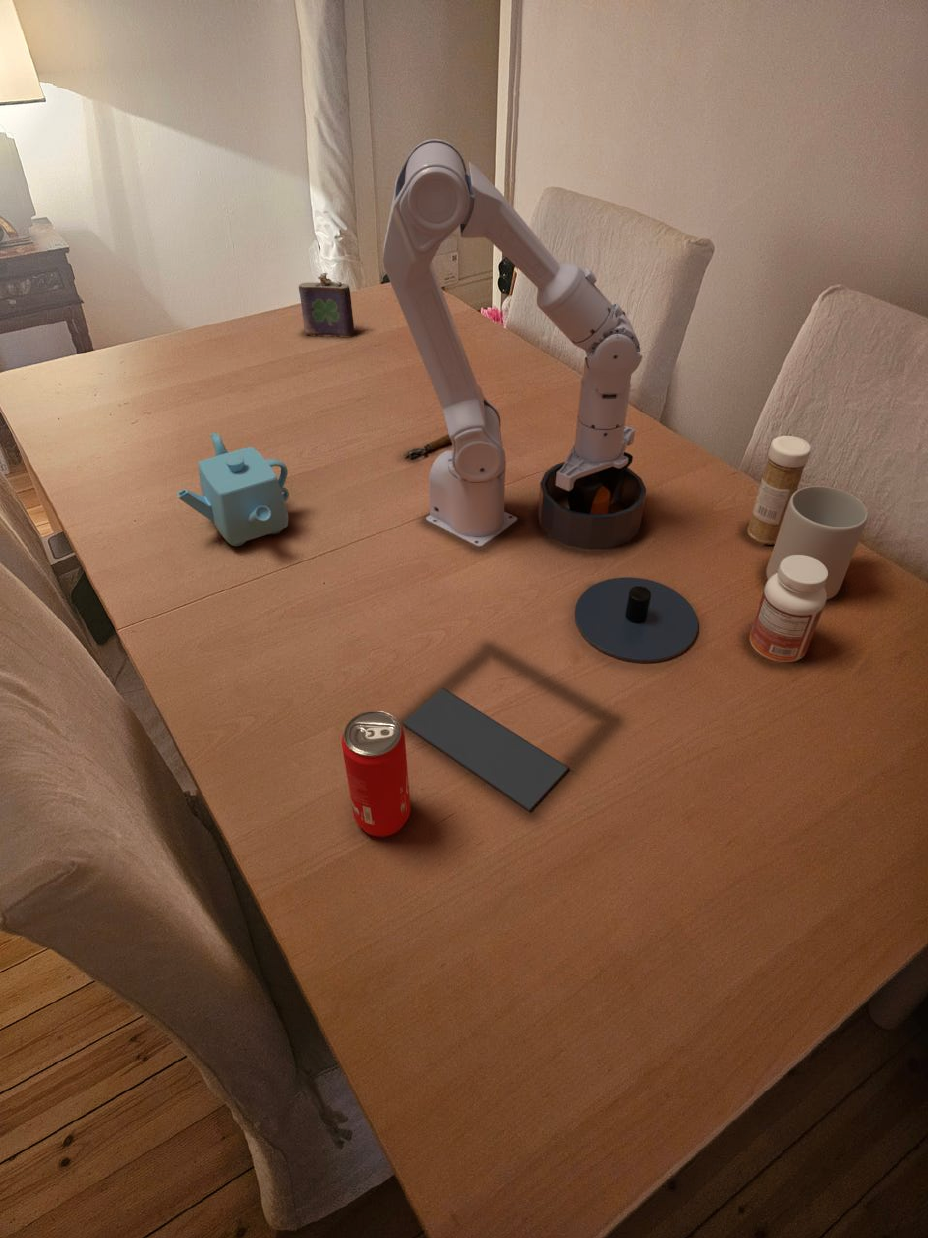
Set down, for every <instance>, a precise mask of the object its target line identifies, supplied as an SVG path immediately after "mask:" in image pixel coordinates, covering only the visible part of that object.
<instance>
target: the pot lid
mask: <svg viewBox="0 0 928 1238" xmlns="http://www.w3.org/2000/svg"><path fill="white" fill-rule="evenodd" d="M574 622H575V626H576V628H577V631H578V632H579V634H580V636H581V637H583V639H584V640H585V641H586V642H587V643H588V644H589V645H590V646H592V647H593V648H594V649H596V650H597V651H599V652H601V653H603V654H604V655H607V656H609V657H611V658H614V659H617V660H621V661H625V662H631V663H637V664H639V663H640V664H653V663H659V662H665V661H668V660H671V659H674V658H676V657H678V656H681V654H683V653H684V652H686V651H687V650H688V649H689V648H690V647H691V646H692V644H693V643H694V642H695V640H696V637H697V633H698V630H699V621H698V617H697V613H696V611H695V609H694V607H693V606H692V604H690V602H689V601H688V600H687V599H686V597H684V596H683V595H682V594H681V593H679V592H678V591H676V590H675V589H673V588H671V587H670V586H667V585H665V584H663V583H661V582H658V581H655V580H651V579H647V578H640V577H631V576H630V577H627V576H626V577H625V576H624V577H614V578H609V579H606V580H601V581H599V582H597V583H595V584H593V585H591V586H590V587H588V588H587V589H585V591H583V592H582V594H581V595H580V596H579V598H578V599H577V601H576V604H575V609H574Z"/></svg>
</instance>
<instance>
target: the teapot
mask: <svg viewBox="0 0 928 1238" xmlns="http://www.w3.org/2000/svg"><path fill="white" fill-rule="evenodd" d="M210 439H211V441H212V444H213V448H214V449H213V450H214V455H215V456H211V457H208V458H205V459H201V460H200V461H198V473H199V475H198V476H199V482H200V489H201V495H200V494H198V493H195V492H193V491H191V490H188V489H187V488H184V489H181V490H180V491H178V492H177V493H176V494H175V495H176V496H177V497H178V498H179V500H181V501H182V502H183V503H185V504H187V505H188V506H189V507H191V508H192V509H193V510H194V511H196V512H198V513H199V514H201V515H202V516H204V517H205V518H206V519H208V520H209V521H210V522H212V524H213V525H214V527H215V529H217V531H218V532H219V534H220V535H221V536H222V538H224V540H225V541H226V542H227V543H228V544H229V545H231V546H233V547H240V546H242V545H244V544H245V543H246V542H248V541H251V540H254V539H258V538H261V537H263V536H266V535H276V534H279V533H281V532H282V530H283V529H285V528H287V527H288V526H289V513H288V509H287V504H286V501H287V500H288V499H289V497H290V492H289V490H288V488H287V487H284V486H285V484H286V481H287V478H288V467H287V465H286V464H285V462H283V460H282V461H281V460H280V459H277V458H269V459H266V458H264V456H263V455H262V454H261V452H259V451H258V450H257V449H256V448H255V447H253V446H247V447H244V448H239V449H236V450H232V451H229V452H228V450H227V448H226V446H225V443H224V442H223V440H222V437H221V436H220V434H218V432H211V433H210ZM272 467H279V468H280V473H279V477H277V474H276V473H275V471H274V470H273V468H272Z"/></svg>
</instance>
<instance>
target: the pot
mask: <svg viewBox="0 0 928 1238" xmlns="http://www.w3.org/2000/svg"><path fill="white" fill-rule="evenodd" d="M564 463H565V461H563V462H560V463H557V464H555V465H554V466H552V467H551V468H549V469H547V470H546V471H545V472H544V473H543V476H542V478H541V480H540V483H539V494H538V509H537V518H538V522H539V525H540V528H541V529H543V530H544V531H545V533H546V534H547V535H548V536H549V537H550V538H552V539H554V540H556V541H558V542H560V543H561V544H563V545H566V546H568V547H572V548H573V547H574V548H579V549H584V550H589V551H591V550H592V551H593V550H606V549H608V550H610V549H612V548H616V547H618V546H621V545H624V544H626V543H628V542H630V540H632V539H633V538H634V537H635V536H636V535H637V534H638V533H639V530H640V526H641V523H642V517H643V512H644V506H645V501H646V495H647V488H646V486H645V483H644V481H643V478H642V477H641V476H639V475H638V474H637V473H635V472H634V470H632V469H631V468H629V467H628V468H627V469H626V470H625V472H624V473H623V475H622V477H621V478H620V480H619V482H618V484H617V487H616V489H615V491H614V494H613V496H612V498H613V499H615V500H618V501H620V502H622V503H623V504H624V505H625V506H626V507H627V508H626V509H623V510H620V511H617V512H614V513H608V514H597V515H592V514H586V513H581V512H575V511H572V510H570V509H569V507H566V506H563V505H561V504H560V503H558V502H557V501H556V499H557V498H559V497H562V496H566V494H565V492H564V490H563V489H562V488H560V487H558V486H556V475H557V472H558V471H559V470H560V469H561V468H562V467H563V465H564ZM590 476H592V479H593V474H590Z"/></svg>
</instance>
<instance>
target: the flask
mask: <svg viewBox="0 0 928 1238" xmlns="http://www.w3.org/2000/svg"><path fill="white" fill-rule="evenodd" d="M327 275H328V273H327V272H323V273H320V275H319V276H317V279H318V280H319V281H320V282H317V281H316V282H302V283H300V284H298V292H299V298H300V304H301V314H302V320H303V330H304V333H305V335H307V336H311V337H317V336H318V337H334V338H335V337H340V338H352V337H354V335H355V323H354V316H353V307H352V297H351V289H350V286H349V284H347V283H342V281H337V282H336V281H332V279H330V278H328V277H327Z"/></svg>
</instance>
